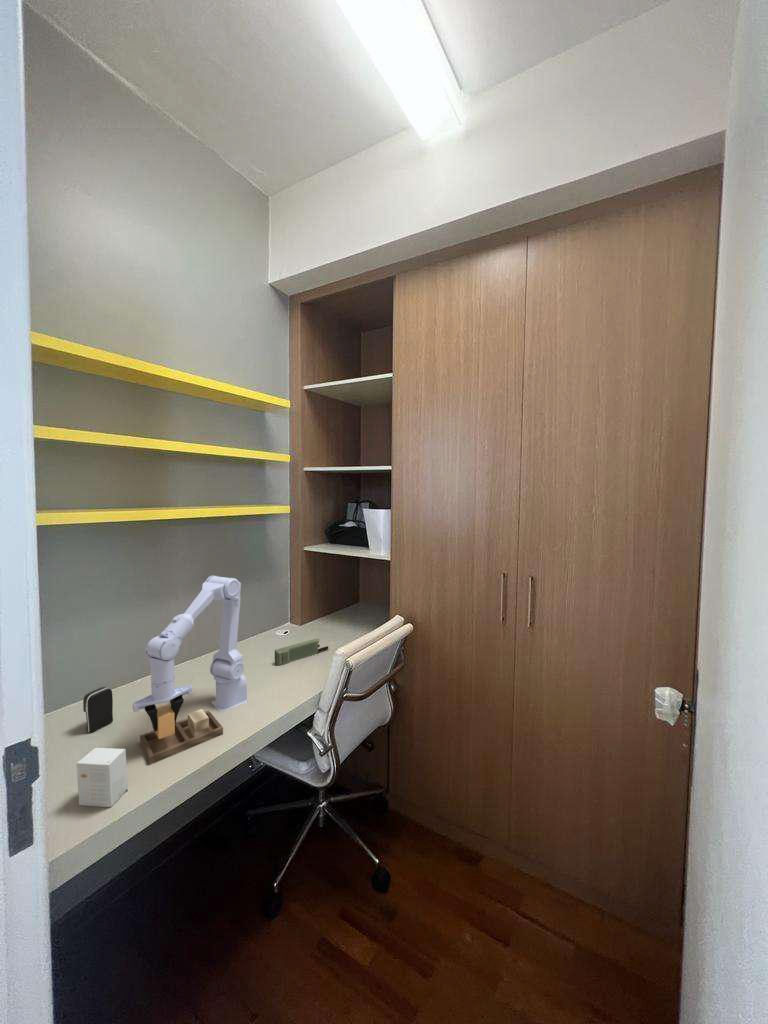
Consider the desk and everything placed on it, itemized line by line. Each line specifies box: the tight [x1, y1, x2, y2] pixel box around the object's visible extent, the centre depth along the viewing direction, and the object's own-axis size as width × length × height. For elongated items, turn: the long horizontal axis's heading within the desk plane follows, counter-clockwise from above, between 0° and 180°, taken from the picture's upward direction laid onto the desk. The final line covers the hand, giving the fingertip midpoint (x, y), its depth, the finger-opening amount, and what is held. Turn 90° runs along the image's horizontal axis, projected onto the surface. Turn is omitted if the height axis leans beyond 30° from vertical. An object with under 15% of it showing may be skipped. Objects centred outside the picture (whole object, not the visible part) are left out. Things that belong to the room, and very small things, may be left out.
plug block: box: [155, 703, 175, 739], centre depth 111 cm, size 4×6×6 cm, turn 43°
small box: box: [76, 747, 129, 808], centre depth 93 cm, size 8×6×10 cm
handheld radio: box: [274, 637, 329, 667], centre depth 169 cm, size 7×3×25 cm
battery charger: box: [82, 686, 114, 734], centre depth 120 cm, size 7×4×11 cm, turn 155°
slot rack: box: [139, 710, 224, 766], centre depth 114 cm, size 19×12×3 cm, turn 133°
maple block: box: [187, 708, 209, 738], centre depth 117 cm, size 4×6×5 cm, turn 43°
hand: (164, 726), depth 110 cm, fingers closed on plug block, 4 cm apart
